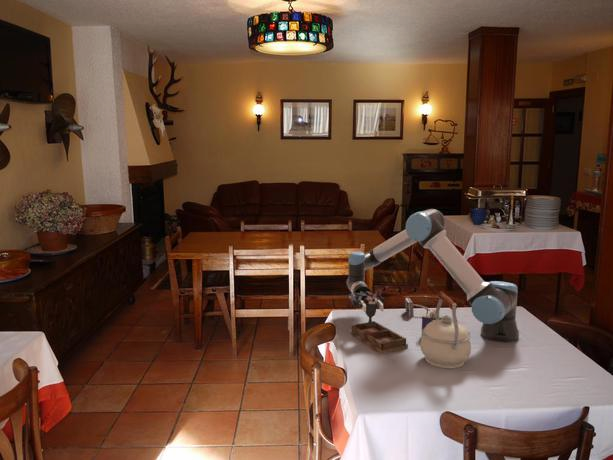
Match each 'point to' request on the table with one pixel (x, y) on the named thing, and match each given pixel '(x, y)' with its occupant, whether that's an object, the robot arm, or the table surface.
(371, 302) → the sundae
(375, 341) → the crate
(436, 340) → the kettle
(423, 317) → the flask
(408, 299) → the decorative sculpture
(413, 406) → the table surface
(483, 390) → the table surface
